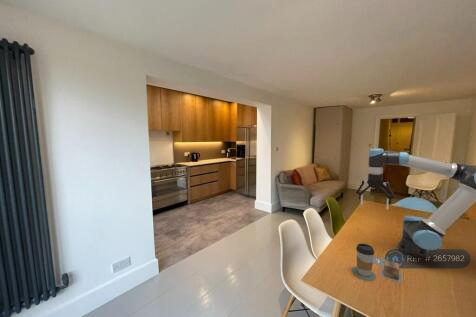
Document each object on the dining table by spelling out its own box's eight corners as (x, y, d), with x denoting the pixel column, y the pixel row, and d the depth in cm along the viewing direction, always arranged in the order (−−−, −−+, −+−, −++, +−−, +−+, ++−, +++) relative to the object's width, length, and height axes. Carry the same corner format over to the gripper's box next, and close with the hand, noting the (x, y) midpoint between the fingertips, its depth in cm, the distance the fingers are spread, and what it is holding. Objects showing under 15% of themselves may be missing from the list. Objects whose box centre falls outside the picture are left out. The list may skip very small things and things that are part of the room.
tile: (385, 260, 123) (385, 259, 123) (382, 267, 116) (382, 266, 116) (367, 254, 129) (367, 254, 129) (364, 260, 123) (364, 260, 123)
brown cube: (397, 273, 110) (398, 263, 110) (398, 280, 105) (399, 269, 105) (383, 269, 113) (384, 259, 113) (384, 276, 109) (385, 265, 108)
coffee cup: (351, 268, 114) (352, 243, 113) (365, 267, 115) (367, 242, 113) (361, 278, 106) (363, 251, 104) (376, 277, 107) (378, 250, 105)
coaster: (377, 273, 111) (377, 272, 111) (373, 284, 103) (373, 283, 103) (354, 265, 118) (355, 264, 118) (349, 274, 110) (349, 273, 110)
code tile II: (402, 275, 110) (402, 274, 110) (400, 283, 103) (400, 283, 103) (382, 267, 116) (382, 267, 116) (379, 275, 109) (379, 275, 109)
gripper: (401, 174, 121) (399, 209, 122) (354, 171, 137) (353, 201, 139) (400, 176, 115) (399, 212, 117) (351, 172, 131) (350, 204, 133)
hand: (374, 206), depth 128 cm, fingers open, 13 cm apart
